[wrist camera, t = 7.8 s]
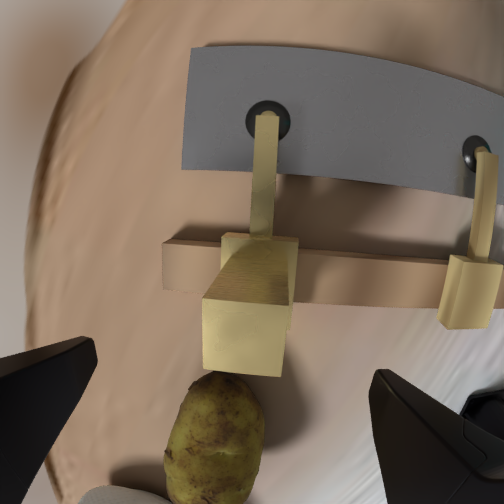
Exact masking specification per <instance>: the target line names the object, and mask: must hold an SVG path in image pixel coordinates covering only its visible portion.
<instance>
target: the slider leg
mask: <svg viewBox="0 0 504 504" xmlns="http://www.w3.org/2000/svg"><path fill="white" fill-rule="evenodd" d="M278 136H279V116H277V115H276V114H275V113H274V112H272V111H265V112H263V113H262V114H261V115H256V124H255V142H254V160H253V178H252V196H251V215H250V233H249V234H246V233H231V232H226V233H225V234H224V235H223V236H222V239H221V271H220V272H219V274H218V275H217V277H216V278H215V280H214V281H213V283H212V284H211V286H210V287H209V289H208V290H207V292H206V293H205V295H204V296H203V298H202V337H203V369H208V370H215V371H223V372H232V373H241V374H250V375H261V376H273V377H281V372H282V364H283V356H284V348H285V339H286V331H287V330H290V324H291V315H292V306H293V297H294V287H295V277H296V267H297V256H298V245H299V242H298V238H297V237H287V236H273V221H274V205H275V189H276V172H277V155H278Z"/></svg>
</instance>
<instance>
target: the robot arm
mask: <svg viewBox="0 0 504 504" xmlns="http://www.w3.org/2000/svg"><path fill="white" fill-rule="evenodd" d="M97 362H98V359H97V354H96V349H95V344H94V341H93V339H92V338H89V337H85V336H80V337H76V338H73V339H69V340H66V341H62V342H59V343H55V344H51V345H48V346H44V347H41V348H37V349H33V350H29V351H26V352H22V353H18V354H15V355H11V356H7V357H3V358H0V504H21V503H22V501H23V499H24V497H25V495H26V493H27V491H28V489H29V487H30V485H31V483H32V482H33V480H34V478H35V476H36V474H37V472H38V470H39V469H40V467H41V465H42V463H43V462H44V460H45V458H46V456H47V455H48V453H49V451H50V449H51V448H52V446H53V444H54V442H55V441H56V439H57V437H58V435H59V434H60V432H61V430H62V429H63V427H64V425H65V424H66V422H67V420H68V419H69V417H70V415H71V414H72V412H73V411H74V409H75V407H76V406H77V404H78V402H79V401H80V399H81V397H82V395H83V393H84V391H85V389H86V387H87V385H88V383H89V381H90V378H91V376H92V374H93V372H94V370H95V368H96V366H97ZM369 405H370V413H371V422H372V431H373V438H374V443H375V447H376V451H377V455H378V460H379V464H380V469H381V474H382V478H383V483H384V488H385V493H386V498H387V503H388V504H504V390H499V391H494V392H489V393H484V394H478V395H473V396H470V397H469V398H468V399H467V401H466V403H465V405H464V407H463V409H462V411H461V413H460V415H458V414H457V413H455V412H454V411H452V410H451V409H449V408H447V407H446V406H444V405H443V404H441V403H440V402H438V401H437V400H435V399H434V398H432V397H431V396H429V395H427V394H426V393H424V392H423V391H421V390H420V389H418V388H417V387H415V386H414V385H412V384H411V383H409V382H408V381H406V380H405V379H403V378H402V377H400V376H399V375H397V374H396V373H394V372H393V371H391V370H389V369H377V370H376V371H375V373H374V376H373V380H372V383H371V386H370V389H369Z"/></svg>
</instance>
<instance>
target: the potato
mask: <svg viewBox="0 0 504 504" xmlns="http://www.w3.org/2000/svg"><path fill="white" fill-rule="evenodd" d="M188 390H189V392H188V393H187V395H186V396H185V399H184V401H183V403H181V406H180V410H179V413H178V416H177V419H176V421H175V423H174V426H173V429H172V431H171V434H170V437H169V440H168V444H167V448H166V450H165V454H164V470H165V473H166V476H167V479H166V488H167V494H168V498H169V499H171V501H172V502H173V504H243V503H244V502H245V501H246V499H247V498H248V496H249V495H250V493H251V490H252V488H253V485H254V481H255V478H256V476H257V474H258V471H259V466H260V460H261V454H262V450H263V446H264V437H265V422H264V416H263V412H262V409H261V407H260V405H259V402H258V401H257V399H256V397H255V396H254V394H253V393H252V392H251V390H250V389H249V387H248V386H247V384H246V383H245V382H244V381H243V380H242V379H241V378H239V377H237V376H235V375H233V374H230V373H227V372H222V371H213V372H211V373H208V374H206V375H204V376H203V377H201V378H199V379H198V380H197V381H194V382H193V383H192V385H191V386H190V387H189V389H188Z"/></svg>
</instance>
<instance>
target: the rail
mask: <svg viewBox="0 0 504 504" xmlns="http://www.w3.org/2000/svg"><path fill="white" fill-rule="evenodd" d="M474 156H475V158H476V160H477V169H476V186H475V198H474V208H473V217H472V225H471V232H470V239H469V245H468V251H467V256H460V255H450V259H449V260H440V259H429V258H417V257H405V256H392V255H380V254H368V253H355V252H343V251H330V250H317V249H304V248H298V256H297V267H296V277H295V287H294V297H293V302H301V303H317V304H333V305H351V306H373V307H399V308H439V310H438V314H437V317H436V318H437V319H438V320H439V321H440V322H441V323H442V324H443V325H444V326H445V328H446V329H447V330H450V329H480V328H487V327H488V324H489V321H490V317H491V314H492V310H493V309H504V265H502V264H500V263H498V262H496V261H494V260H492V259H490V258H488V256H489V250H490V244H491V238H492V231H493V224H494V216H495V207H496V197H497V184H498V162H499V156H498V155H495V154H492V153H489V152H488V150H487V148H485V147H483V146H482V147H477V148H476V149H475V151H474ZM220 271H221V242H209V241H195V240H181V239H169V240H167V241H165V242H163V243H162V276H163V290H171V291H180V292H189V293H198V294H205V293H206V292H207V290H208V289H209V287H210V286H211V284H212V283H213V281H214V280H215V278H216V277H217V275H218V274H219V272H220Z"/></svg>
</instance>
